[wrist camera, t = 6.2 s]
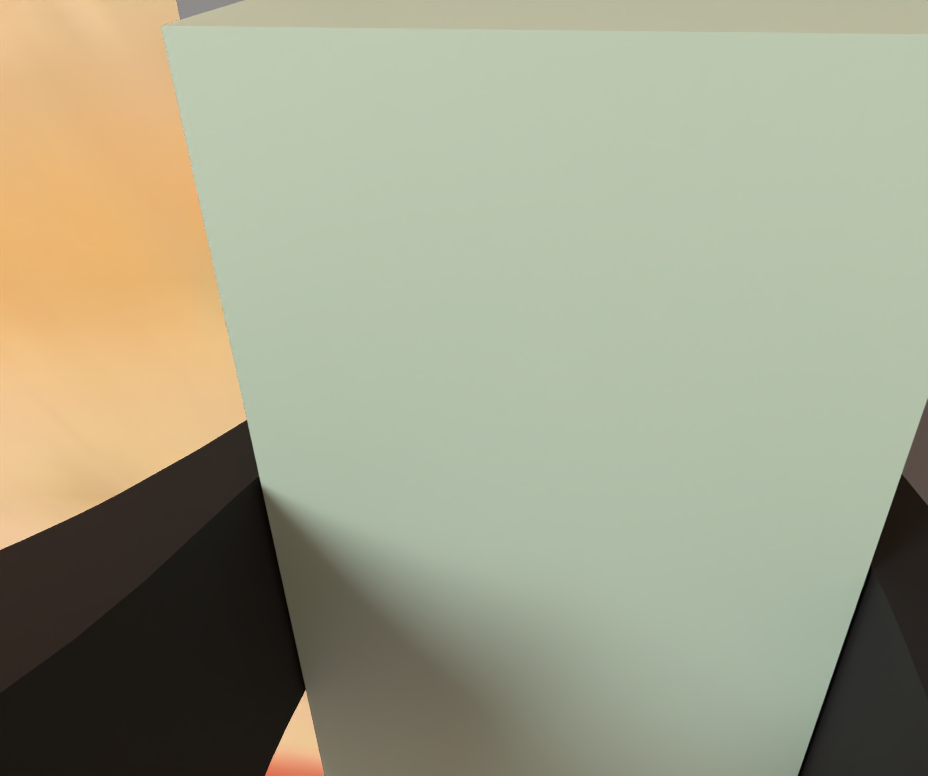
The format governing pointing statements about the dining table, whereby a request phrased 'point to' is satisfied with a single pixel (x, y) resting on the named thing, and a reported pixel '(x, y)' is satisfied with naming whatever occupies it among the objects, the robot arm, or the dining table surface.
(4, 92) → the dining table surface
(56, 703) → the robot arm
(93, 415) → the dining table surface
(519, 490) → the sage green block
